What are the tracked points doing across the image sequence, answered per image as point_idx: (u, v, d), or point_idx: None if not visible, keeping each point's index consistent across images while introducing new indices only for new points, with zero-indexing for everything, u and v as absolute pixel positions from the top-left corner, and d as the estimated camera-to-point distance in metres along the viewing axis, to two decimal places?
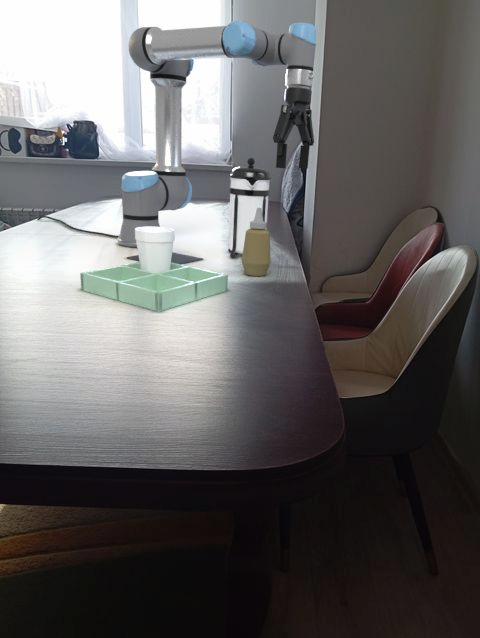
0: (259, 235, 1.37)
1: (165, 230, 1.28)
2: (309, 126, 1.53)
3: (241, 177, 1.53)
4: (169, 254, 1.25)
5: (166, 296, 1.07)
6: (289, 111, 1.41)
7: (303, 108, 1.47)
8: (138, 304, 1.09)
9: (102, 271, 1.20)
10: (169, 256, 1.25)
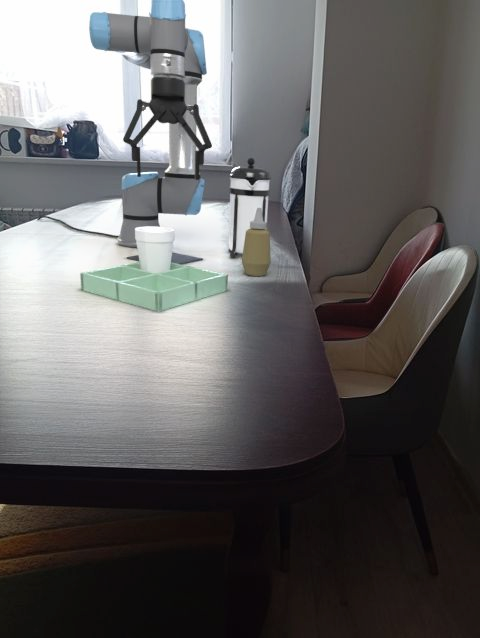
0: (259, 235, 1.37)
1: (165, 230, 1.28)
2: (198, 126, 1.19)
3: (241, 177, 1.53)
4: (169, 254, 1.25)
5: (166, 296, 1.07)
6: (139, 107, 1.14)
7: (176, 103, 1.16)
8: (138, 304, 1.09)
9: (102, 271, 1.20)
10: (169, 256, 1.25)
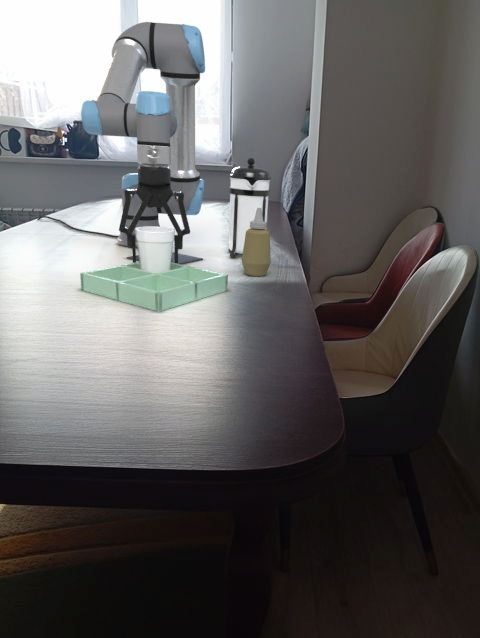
0: (259, 235, 1.37)
1: (165, 230, 1.28)
2: (180, 212, 1.23)
3: (241, 177, 1.53)
4: (169, 254, 1.25)
5: (166, 296, 1.07)
6: (128, 197, 1.19)
7: (162, 189, 1.20)
8: (138, 304, 1.09)
9: (102, 271, 1.20)
10: (169, 256, 1.25)
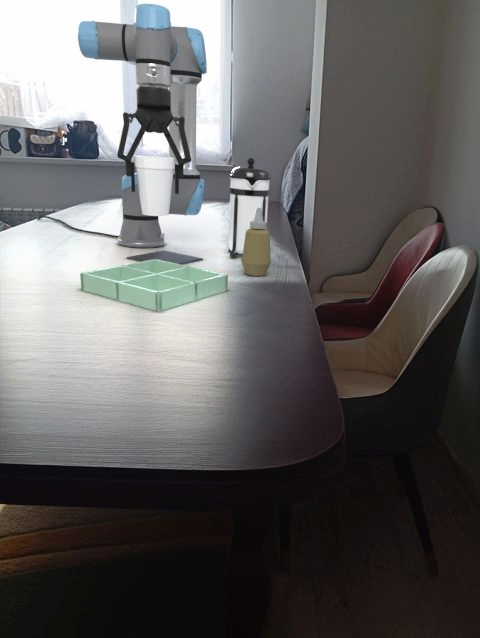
0: (259, 235, 1.37)
1: None
2: (181, 138, 1.18)
3: (241, 177, 1.53)
4: (169, 183, 1.20)
5: (166, 296, 1.07)
6: (126, 120, 1.14)
7: (162, 112, 1.15)
8: (138, 304, 1.09)
9: (102, 271, 1.20)
10: (169, 185, 1.21)
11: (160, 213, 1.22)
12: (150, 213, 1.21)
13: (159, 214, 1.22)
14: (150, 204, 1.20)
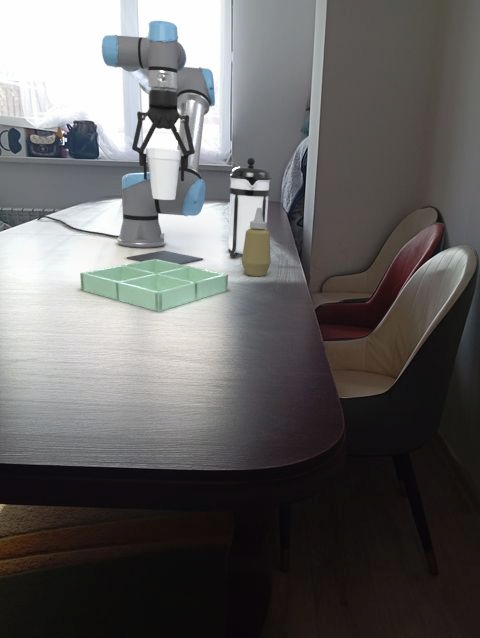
0: (259, 235, 1.37)
1: None
2: (186, 133, 1.39)
3: (241, 177, 1.53)
4: (176, 172, 1.41)
5: (166, 296, 1.07)
6: (140, 118, 1.35)
7: (170, 111, 1.36)
8: (138, 304, 1.09)
9: (102, 271, 1.20)
10: (176, 173, 1.42)
11: (168, 197, 1.43)
12: (159, 197, 1.42)
13: (167, 198, 1.43)
14: (160, 189, 1.41)
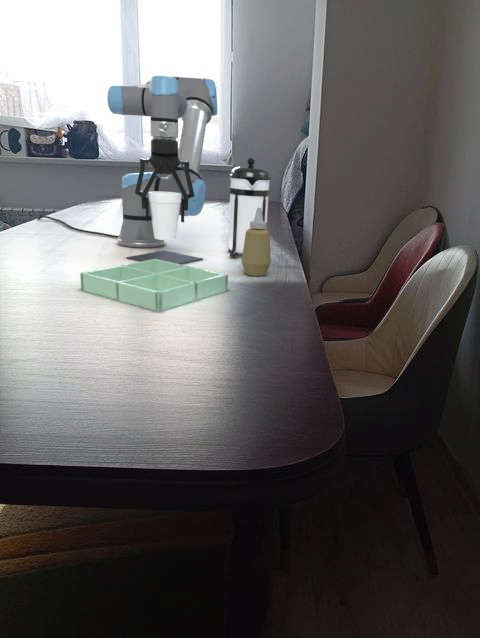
0: (259, 235, 1.37)
1: None
2: (186, 178, 1.47)
3: (241, 177, 1.53)
4: (177, 214, 1.49)
5: (166, 296, 1.07)
6: (142, 164, 1.43)
7: (171, 158, 1.44)
8: (138, 304, 1.09)
9: (102, 271, 1.20)
10: (177, 216, 1.49)
11: (169, 238, 1.50)
12: (161, 238, 1.50)
13: (168, 238, 1.50)
14: (161, 230, 1.48)
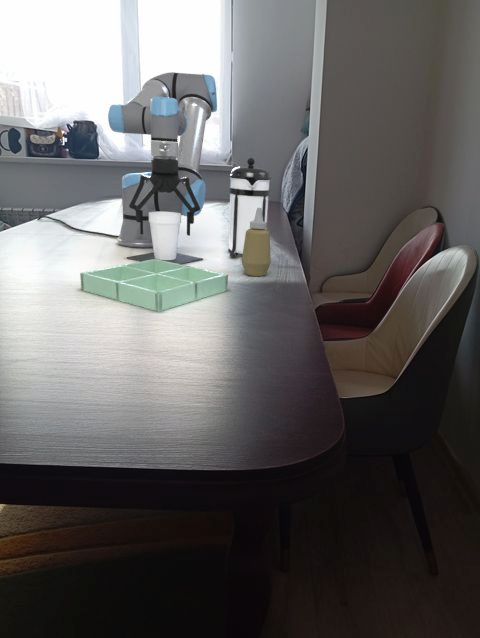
0: (259, 235, 1.37)
1: (173, 214, 1.53)
2: (189, 194, 1.49)
3: (241, 177, 1.53)
4: (177, 234, 1.51)
5: (166, 296, 1.07)
6: (142, 181, 1.44)
7: (171, 177, 1.46)
8: (138, 304, 1.09)
9: (102, 271, 1.20)
10: (177, 236, 1.51)
11: (169, 257, 1.52)
12: (161, 258, 1.52)
13: (168, 258, 1.52)
14: (161, 251, 1.51)
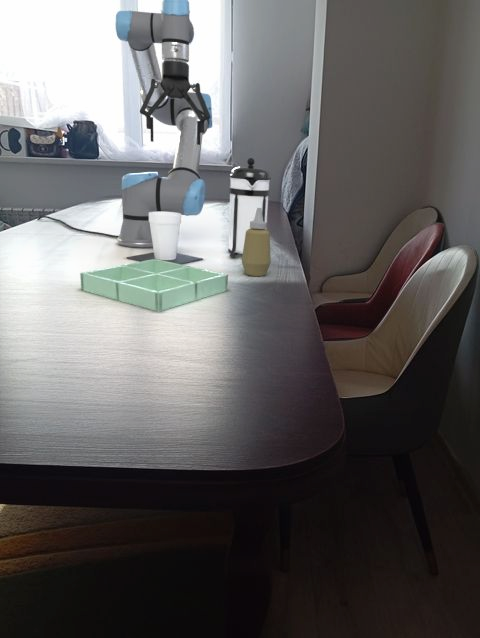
0: (259, 235, 1.37)
1: (173, 214, 1.53)
2: (199, 100, 1.49)
3: (241, 177, 1.53)
4: (177, 234, 1.51)
5: (166, 296, 1.07)
6: (153, 85, 1.44)
7: (182, 82, 1.46)
8: (138, 304, 1.09)
9: (102, 271, 1.20)
10: (177, 236, 1.51)
11: (169, 257, 1.52)
12: (161, 258, 1.52)
13: (168, 258, 1.52)
14: (161, 251, 1.51)
